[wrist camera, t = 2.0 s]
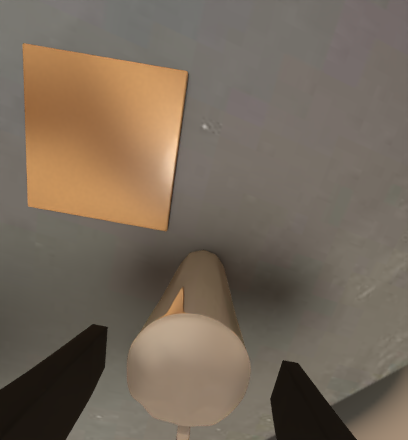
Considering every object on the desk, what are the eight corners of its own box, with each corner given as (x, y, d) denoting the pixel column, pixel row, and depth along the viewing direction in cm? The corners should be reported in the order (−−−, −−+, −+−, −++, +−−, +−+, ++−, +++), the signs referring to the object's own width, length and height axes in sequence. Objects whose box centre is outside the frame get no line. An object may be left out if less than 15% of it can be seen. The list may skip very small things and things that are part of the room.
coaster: (167, 229, 15) (166, 231, 14) (32, 205, 15) (27, 206, 15) (188, 73, 13) (187, 70, 12) (28, 46, 13) (22, 42, 12)
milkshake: (170, 302, 16) (102, 498, 7) (173, 238, 15) (95, 360, 5) (228, 308, 16) (247, 518, 6) (235, 243, 15) (274, 381, 5)
